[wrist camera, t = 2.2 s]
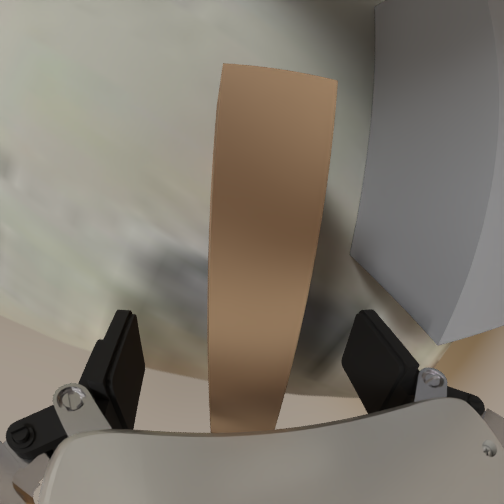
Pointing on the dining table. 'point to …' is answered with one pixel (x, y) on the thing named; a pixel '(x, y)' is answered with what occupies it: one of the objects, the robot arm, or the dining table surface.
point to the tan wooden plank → (263, 234)
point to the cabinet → (437, 165)
